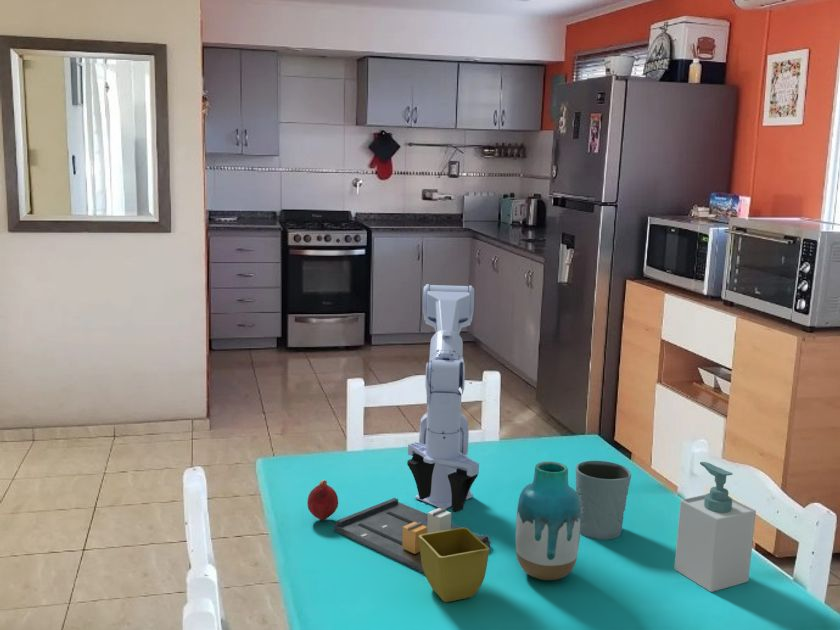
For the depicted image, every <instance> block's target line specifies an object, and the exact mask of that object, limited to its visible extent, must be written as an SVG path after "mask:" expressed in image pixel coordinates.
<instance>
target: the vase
mask: <svg viewBox="0 0 840 630" xmlns="http://www.w3.org/2000/svg"><path fill="white" fill-rule="evenodd" d="M533 474H534V475H533V481H532V482H531V483H529V484H527V485H525V487H523V488H522V490H521V491H520V493H519V497H518V503H517V509H516V510H517V511H516V521H515V522H516V523H515V551H516V553H515V554H516V558H517V561H518V562H517V563H518V564H519V566H520V567H521V569H522V570H523V571H524V573H526V574H527V575H529V576H531V577H533V578H535V579H539V580H543V581H556V580H561V579H563V578H565V577H567V576H568V575H569V574H570V573H572V572H571V571H572V570H574V567H575V565H576V562H577V559H578V554H579V547H580V539H581V534H580V526H581V507H580V499H579V496H578V494H577V492H576V489H574V488H572V486H571V487H570V486H569V469H568V467H567V466H566V465H565V464H562V463H560V462H557V461H542V462H538V463H537V464H536V465H535V466H534V473H533Z"/></svg>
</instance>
